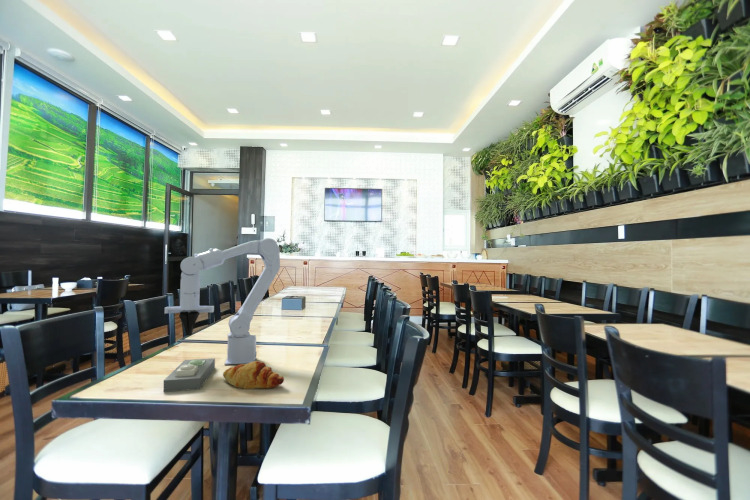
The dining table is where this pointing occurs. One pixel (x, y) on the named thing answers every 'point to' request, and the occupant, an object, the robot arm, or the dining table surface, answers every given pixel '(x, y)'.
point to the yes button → (197, 362)
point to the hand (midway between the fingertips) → (189, 334)
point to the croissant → (252, 376)
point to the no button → (187, 370)
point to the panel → (189, 377)
